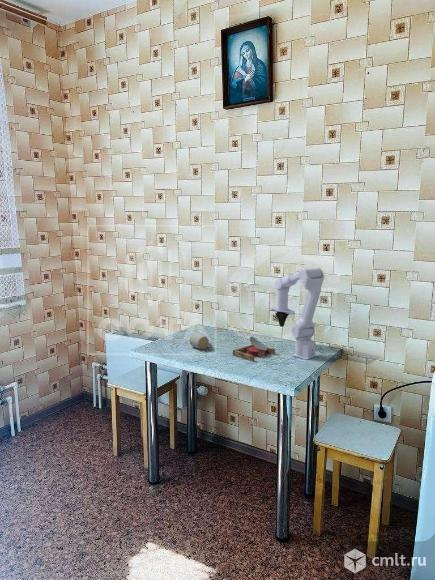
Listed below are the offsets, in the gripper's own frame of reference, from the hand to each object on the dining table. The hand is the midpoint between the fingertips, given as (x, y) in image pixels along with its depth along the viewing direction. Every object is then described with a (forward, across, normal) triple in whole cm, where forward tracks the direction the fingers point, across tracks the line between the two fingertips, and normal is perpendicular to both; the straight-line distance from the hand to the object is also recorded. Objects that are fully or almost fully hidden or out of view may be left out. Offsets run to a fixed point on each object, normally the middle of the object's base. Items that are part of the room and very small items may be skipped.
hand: (281, 326), depth 231 cm
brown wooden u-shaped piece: (+10, -1, +22) cm, 24 cm away
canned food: (+11, -1, +20) cm, 23 cm away
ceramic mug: (+11, +27, +33) cm, 44 cm away
